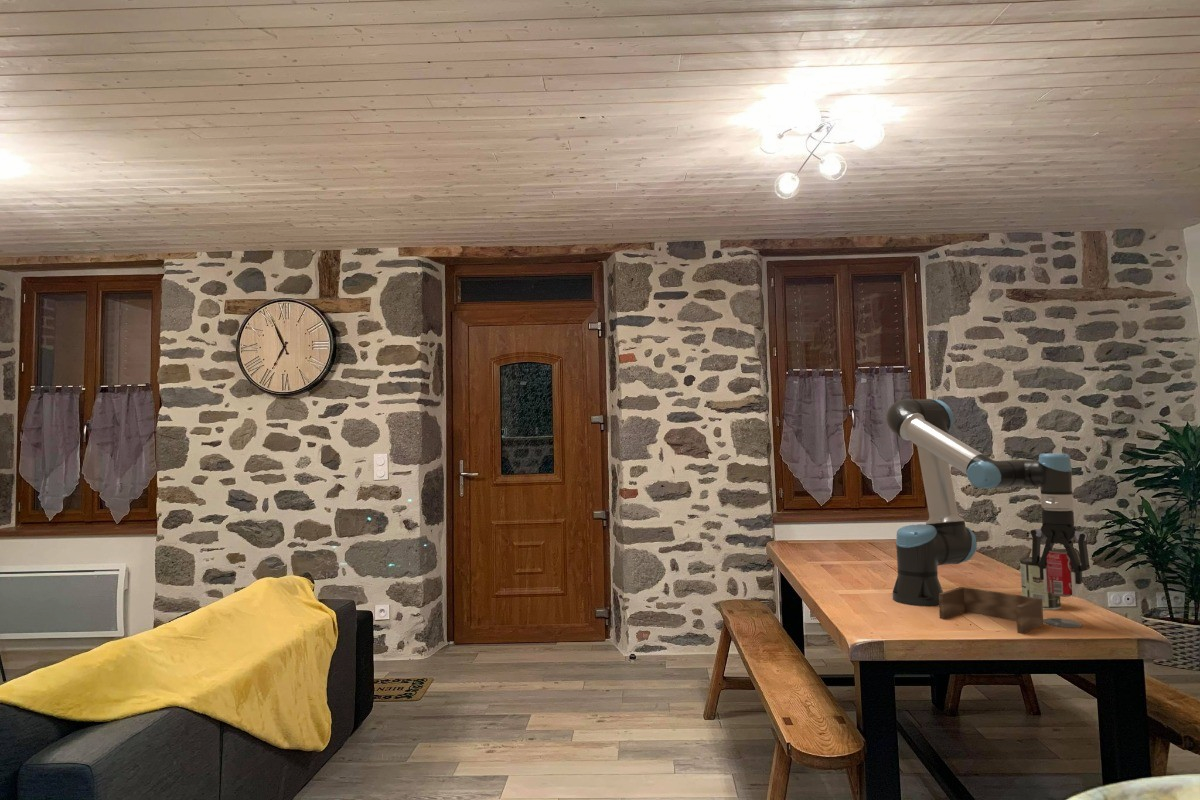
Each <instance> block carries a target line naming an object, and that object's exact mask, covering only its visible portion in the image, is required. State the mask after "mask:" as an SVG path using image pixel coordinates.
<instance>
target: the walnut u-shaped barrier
mask: <svg viewBox="0 0 1200 800" xmlns="http://www.w3.org/2000/svg"><path fill="white" fill-rule="evenodd" d="M938 613H939V619H940V620H945V619H948V618H951V617H954V616H957V615H959V614H963V613H970V614H975V615H980V616H985V617H986V616H987V617H990V618H991V617H992V618H998V619H1003V620H1009V621H1014V622H1016V629H1017V634H1022V635H1024V634H1025V633H1027V632H1029V631H1032V630H1034V629H1038V628H1040V627H1041V625H1042V626H1043V625H1044V622H1043V620H1044V610H1043V603H1042V599H1040V598H1033V597H1026V596H1022V595H1018V594H1011V593H1006V592H999V591H993V590H992V591H991V590H986V589H978V588H972V587H966V586H959V587H956V588H952V589H949V590H946V591H943V593H939V606H938Z"/></svg>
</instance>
